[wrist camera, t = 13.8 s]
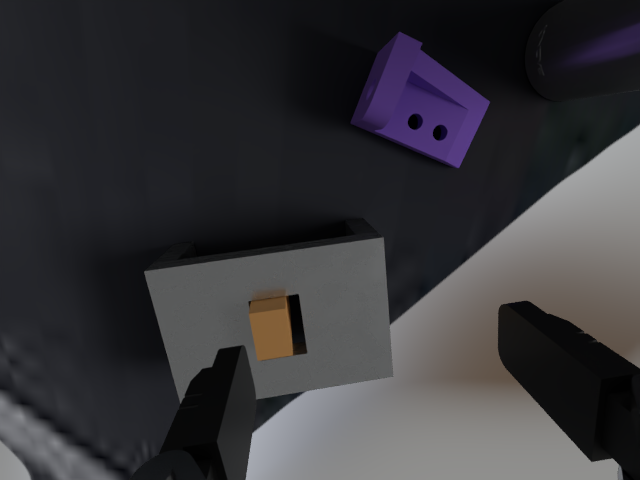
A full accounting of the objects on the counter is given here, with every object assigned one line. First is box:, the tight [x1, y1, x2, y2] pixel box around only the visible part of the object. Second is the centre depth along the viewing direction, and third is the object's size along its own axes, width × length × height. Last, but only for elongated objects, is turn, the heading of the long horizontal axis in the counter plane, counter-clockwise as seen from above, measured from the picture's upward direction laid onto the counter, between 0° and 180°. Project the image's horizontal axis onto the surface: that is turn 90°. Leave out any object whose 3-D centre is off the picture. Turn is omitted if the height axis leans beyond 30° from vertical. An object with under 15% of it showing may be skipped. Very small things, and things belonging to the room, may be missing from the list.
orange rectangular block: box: [249, 296, 293, 361], centre depth 33 cm, size 3×4×10 cm, turn 6°
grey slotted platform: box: [144, 218, 393, 403], centre depth 35 cm, size 20×14×8 cm
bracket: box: [350, 32, 490, 168], centre depth 32 cm, size 12×7×7 cm, turn 69°
